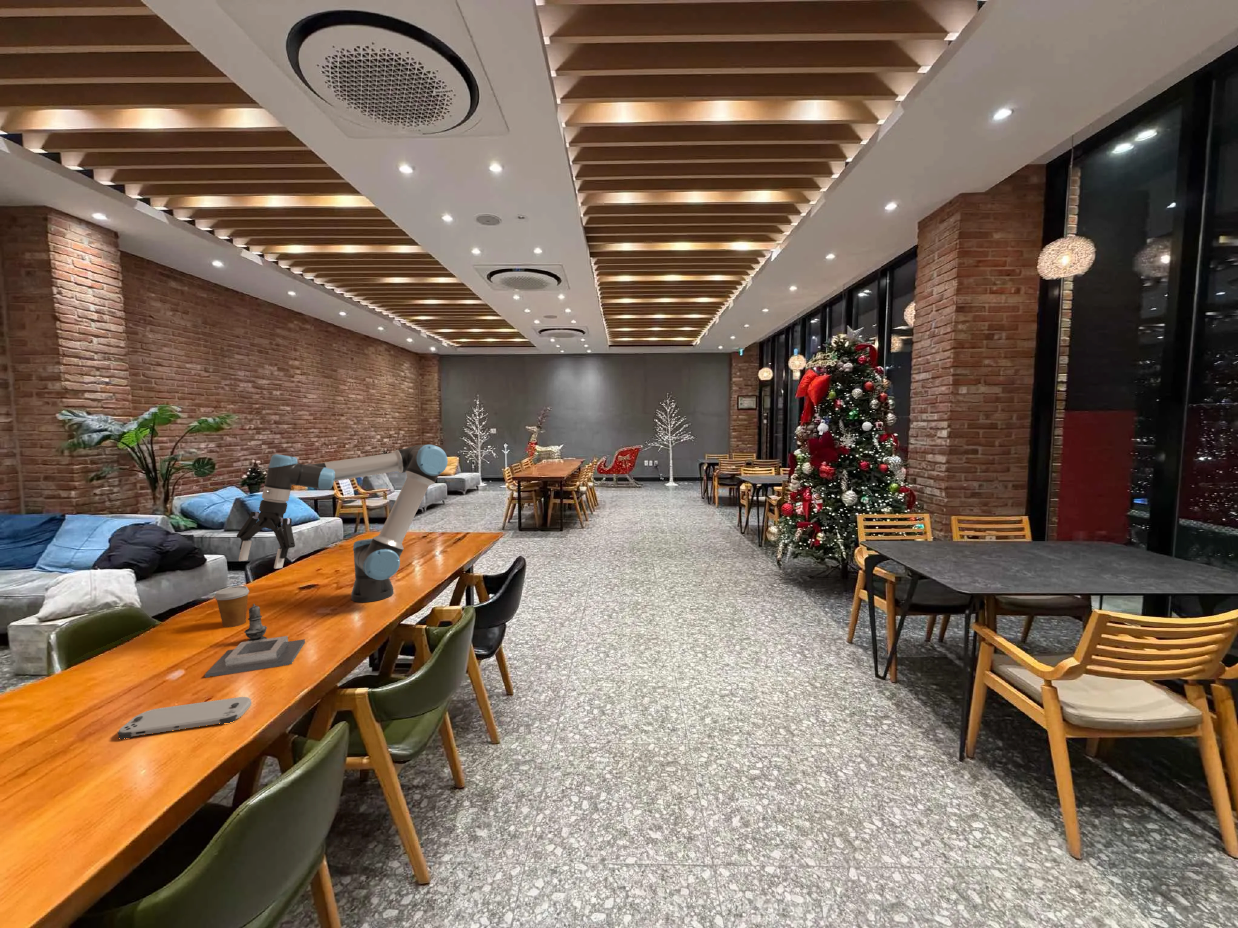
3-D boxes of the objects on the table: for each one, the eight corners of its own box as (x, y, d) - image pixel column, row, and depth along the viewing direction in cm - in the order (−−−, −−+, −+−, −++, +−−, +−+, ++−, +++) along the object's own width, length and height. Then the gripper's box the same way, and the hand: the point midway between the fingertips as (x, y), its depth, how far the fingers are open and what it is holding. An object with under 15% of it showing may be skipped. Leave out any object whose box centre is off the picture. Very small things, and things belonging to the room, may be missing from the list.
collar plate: (305, 642, 157) (304, 631, 157) (291, 664, 142) (290, 652, 142) (227, 653, 151) (227, 641, 150) (205, 677, 136) (204, 665, 135)
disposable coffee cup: (258, 618, 179) (255, 585, 178) (235, 629, 169) (232, 594, 168) (233, 618, 180) (231, 585, 179) (209, 628, 170) (206, 594, 169)
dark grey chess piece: (272, 637, 162) (269, 601, 161) (253, 645, 156) (251, 607, 155) (259, 635, 164) (256, 599, 163) (240, 643, 158) (237, 605, 157)
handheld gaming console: (255, 691, 123) (236, 712, 114) (256, 701, 124) (237, 724, 114) (141, 706, 117) (111, 731, 108) (142, 718, 118) (112, 743, 108)
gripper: (233, 494, 167) (218, 558, 165) (298, 506, 163) (283, 572, 161) (252, 495, 174) (238, 556, 172) (315, 507, 170) (301, 570, 168)
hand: (260, 564), depth 167 cm, fingers open, 13 cm apart
